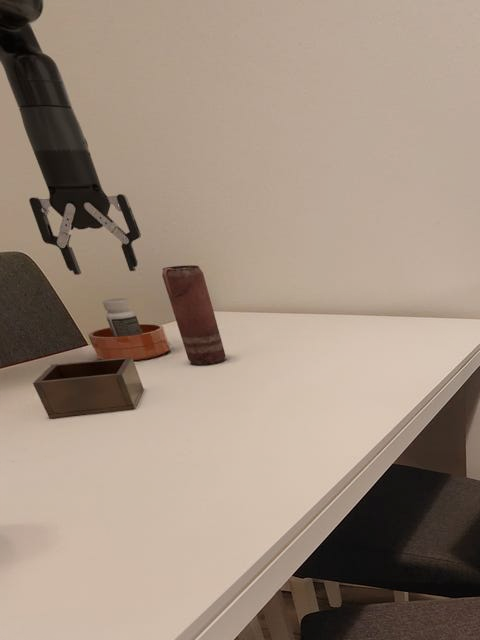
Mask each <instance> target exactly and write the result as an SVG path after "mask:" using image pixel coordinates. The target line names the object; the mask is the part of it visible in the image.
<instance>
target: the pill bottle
mask: <svg viewBox="0 0 480 640" xmlns="http://www.w3.org/2000/svg"><path fill="white" fill-rule="evenodd" d="M102 304H103V307H104V309H105V311H107V312H106V315H105V317H106V321H107V323H108V325H109V326H108V327H110V328H111V331H112V333H113V336H114V337H121V336H131V335H138V334H142V331H141V328H140V326H139V324H140V322H139V320H138V317H137V314H136V312H135V311H133V310H132V309H131V307H132V306H131V304H130V302H129V299H128V298H110V299H105V300H103V301H102Z"/></svg>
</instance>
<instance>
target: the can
mask: <svg viewBox="0 0 480 640" xmlns="http://www.w3.org/2000/svg"><path fill="white" fill-rule="evenodd" d="M161 275H162V279H163V282H164V287H165V289H166V292H167V296H168V298H169V301H170V305H171V308H172V311H173V315H174V318H175V322H176V325H177V327H178V331H179V334H180V337H181V341H182V344H183V347H184V350H185V353H186V356H187V360H188V361H189V362H190V364H192V365H195V366H209V365H215V364H220V363H222V362H224V361H225V359H226V352H225V348H224V344H223V341H222V337H221V333H220V329H219V327H218V322H217V319H216V316H215V312H214V307H213V304H212V301H211V297H210V293H209V290H208V286H207V282H206V279H205V275H204V272H203V271H202V269H201V268H200V266H199V265H192V264H191V265H175V266H167V267H163V268H162V274H161Z"/></svg>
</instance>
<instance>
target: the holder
mask: <svg viewBox="0 0 480 640" xmlns="http://www.w3.org/2000/svg"><path fill="white" fill-rule="evenodd" d="M32 384H33V387H34V389H35V391H36V393H37V396H38V397H39V400H40V402H41V404H42V406H43V408H44V410H45V413H46V415H47V417H48V418H49V419H56V418H65V417H75V416H85V415H90V414H91V415H93V414H100V413H101V414H102V413H109V412H111V413H112V412H118V411H120V412H121V411H129V410H135V409H136V407H137V405H138V402H139V401H140V398H141V396H142V394H143V391H144V386H143V383H142V380H141V378H140V375H139V372H138V369H137V367H136V363H135V361H133V358H132V357H128V358H117V359H106V360H103V359H97V360H85V361H76V362H65V363H64V362H63V363H54V364H53V363H52V364H51V365H50V366H49V367H48V368H47V369H45V371H44V372H43V373H41V374H40V375H39V377H37V378H36V379H35V380H34V381H33V382H32Z"/></svg>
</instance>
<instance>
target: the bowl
mask: <svg viewBox="0 0 480 640" xmlns="http://www.w3.org/2000/svg"><path fill="white" fill-rule="evenodd" d="M139 326H140V328H141V331H142V334H138V335H131V336H121V337H114V336H113V333H112V331H111V328H110V326H108V327H104V328H100V329H96V330H94V331H91V332H89V333H88V338H89V340H90V342H91V346H92V348H93V351H94V353H95V356H96V358H97V359H98V360H106V359H117V358H128V357H132V358H133V361H134V362H135V361H143V360H147V359H153V358H157V357H159V356H163V355H164V354H166V353H167V352H168V351H170V350H171V345H170V343H169V340H168V336H167V333H166V331H165V327H164V326H163V325H162V324H156V323H139Z"/></svg>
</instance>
